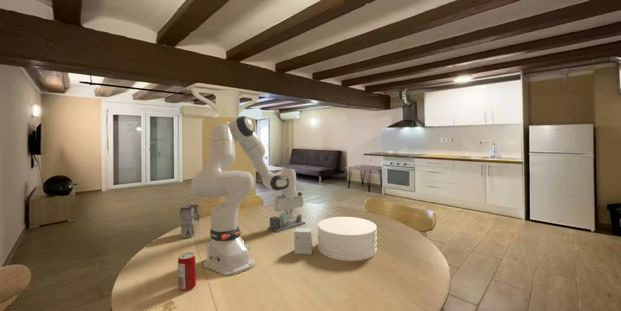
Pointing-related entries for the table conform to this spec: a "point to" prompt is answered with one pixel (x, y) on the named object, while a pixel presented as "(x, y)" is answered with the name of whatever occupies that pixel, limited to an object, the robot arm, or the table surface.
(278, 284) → the table surface
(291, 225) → the slider rail mechanism
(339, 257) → the plate stack
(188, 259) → the soda can
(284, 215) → the sleeve
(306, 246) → the small box
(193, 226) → the coffee box
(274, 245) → the table surface
